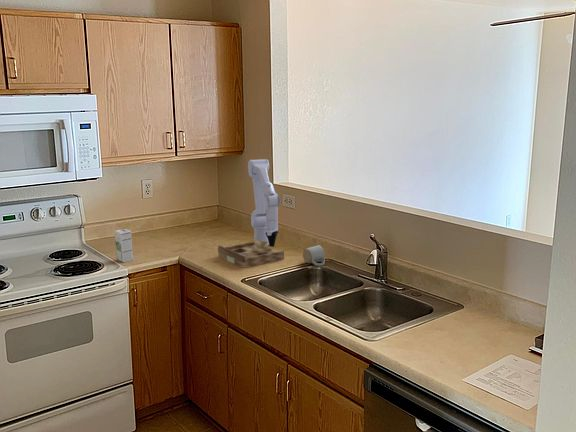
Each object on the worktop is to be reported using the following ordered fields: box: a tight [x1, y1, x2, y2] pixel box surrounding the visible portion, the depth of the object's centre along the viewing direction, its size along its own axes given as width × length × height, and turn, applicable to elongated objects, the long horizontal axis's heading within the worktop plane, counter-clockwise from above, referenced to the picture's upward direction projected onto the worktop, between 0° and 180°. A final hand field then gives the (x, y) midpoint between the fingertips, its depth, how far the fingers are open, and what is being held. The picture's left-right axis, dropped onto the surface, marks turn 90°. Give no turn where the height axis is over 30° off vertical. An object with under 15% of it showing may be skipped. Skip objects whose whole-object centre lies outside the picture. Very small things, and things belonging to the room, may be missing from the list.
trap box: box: [217, 241, 285, 269], centre depth 274 cm, size 23×22×6 cm
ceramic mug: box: [302, 244, 326, 267], centre depth 266 cm, size 11×8×8 cm
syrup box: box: [114, 228, 134, 263], centre depth 269 cm, size 6×6×14 cm
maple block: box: [254, 240, 269, 252], centre depth 278 cm, size 4×4×4 cm
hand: (272, 246), depth 282 cm, fingers closed
